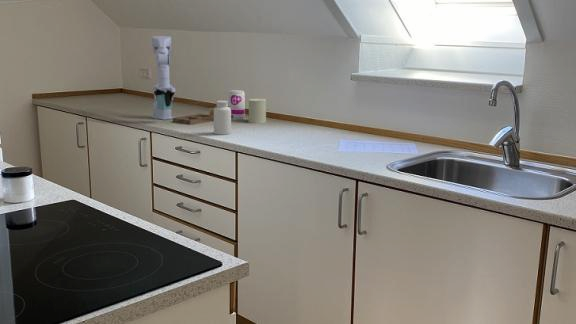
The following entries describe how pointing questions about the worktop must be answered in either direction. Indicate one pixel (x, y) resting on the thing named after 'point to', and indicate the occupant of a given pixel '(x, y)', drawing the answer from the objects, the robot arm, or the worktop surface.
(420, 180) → the worktop surface
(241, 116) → the supplement can
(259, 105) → the can
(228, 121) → the pill bottle
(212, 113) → the maple block
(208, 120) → the walnut frame
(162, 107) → the teal block
